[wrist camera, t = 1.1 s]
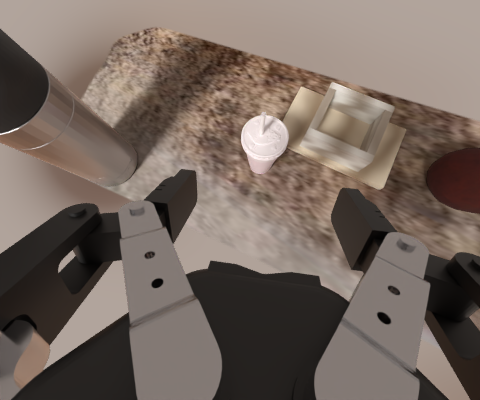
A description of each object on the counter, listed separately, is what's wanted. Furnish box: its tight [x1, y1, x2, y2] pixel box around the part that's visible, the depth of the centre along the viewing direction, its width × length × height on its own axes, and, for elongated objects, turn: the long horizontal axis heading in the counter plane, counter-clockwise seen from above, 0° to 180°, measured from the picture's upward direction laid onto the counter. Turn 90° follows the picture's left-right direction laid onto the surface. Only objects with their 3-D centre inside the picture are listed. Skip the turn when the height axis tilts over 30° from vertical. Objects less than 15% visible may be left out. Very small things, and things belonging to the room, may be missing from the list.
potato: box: [427, 148, 480, 213], centre depth 30 cm, size 9×12×9 cm
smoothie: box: [241, 112, 289, 174], centre depth 30 cm, size 6×6×14 cm
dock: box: [282, 82, 407, 190], centre depth 35 cm, size 20×12×5 cm, turn 62°
